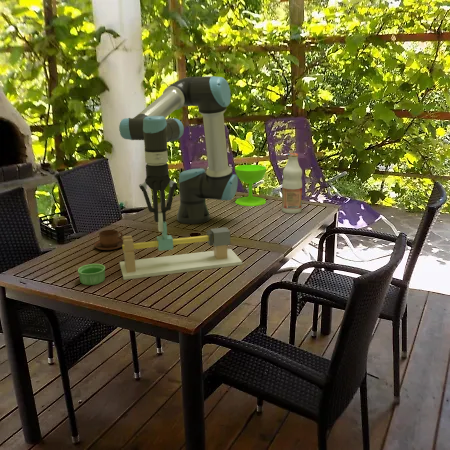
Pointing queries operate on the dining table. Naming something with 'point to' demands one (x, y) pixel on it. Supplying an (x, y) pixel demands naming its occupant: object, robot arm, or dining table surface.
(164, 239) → the sleeve
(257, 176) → the wineglass
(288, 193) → the fruit juice
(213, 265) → the cord rig
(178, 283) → the dining table surface
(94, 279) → the ramekin
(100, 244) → the cup and saucer
